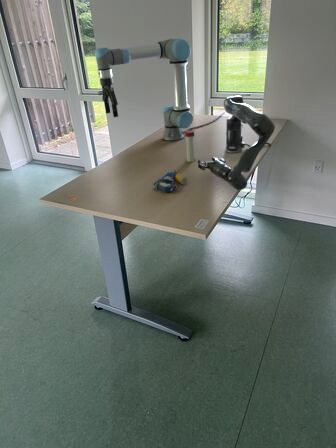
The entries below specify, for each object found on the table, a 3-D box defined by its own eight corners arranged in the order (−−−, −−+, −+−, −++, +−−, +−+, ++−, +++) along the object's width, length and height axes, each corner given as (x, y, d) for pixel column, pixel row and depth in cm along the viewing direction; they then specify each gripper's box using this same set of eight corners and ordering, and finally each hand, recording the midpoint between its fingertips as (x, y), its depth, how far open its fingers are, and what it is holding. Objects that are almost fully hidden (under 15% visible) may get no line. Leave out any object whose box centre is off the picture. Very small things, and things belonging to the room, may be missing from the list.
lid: (189, 137, 195) (188, 133, 194) (183, 135, 199) (183, 131, 198) (196, 135, 198) (196, 131, 197) (190, 133, 202) (190, 129, 201)
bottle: (190, 162, 204) (189, 133, 195) (185, 160, 207) (184, 132, 198) (196, 160, 206) (195, 132, 197) (191, 158, 209) (190, 130, 200)
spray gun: (192, 178, 182) (167, 175, 189) (191, 170, 180) (167, 168, 186) (176, 195, 167) (150, 192, 173) (175, 187, 165) (149, 184, 171)
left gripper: (93, 76, 203) (99, 112, 214) (107, 80, 184) (113, 119, 195) (105, 75, 206) (110, 110, 217) (119, 78, 186) (125, 117, 197)
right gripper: (208, 178, 174) (194, 168, 187) (231, 173, 178) (216, 163, 191) (207, 165, 170) (194, 156, 183) (232, 159, 174) (216, 150, 187)
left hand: (112, 114), depth 206 cm, fingers open, 13 cm apart
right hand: (205, 159), depth 187 cm, fingers open, 8 cm apart
